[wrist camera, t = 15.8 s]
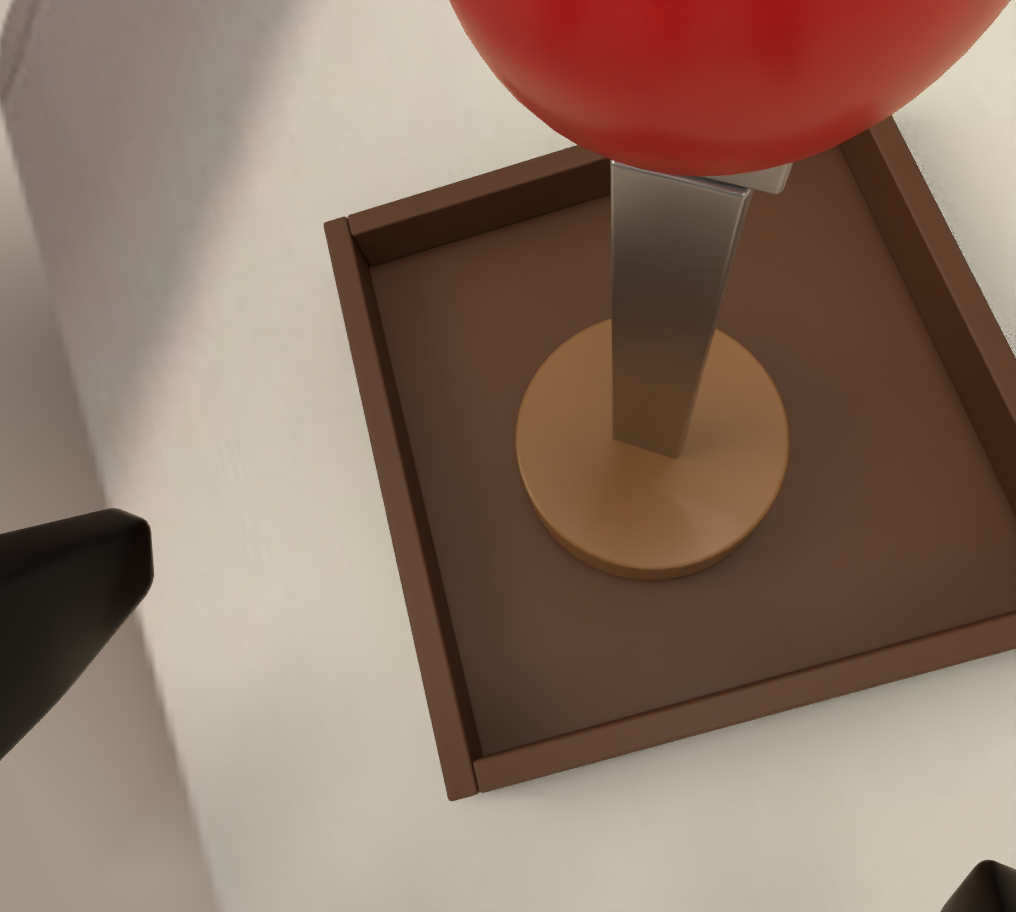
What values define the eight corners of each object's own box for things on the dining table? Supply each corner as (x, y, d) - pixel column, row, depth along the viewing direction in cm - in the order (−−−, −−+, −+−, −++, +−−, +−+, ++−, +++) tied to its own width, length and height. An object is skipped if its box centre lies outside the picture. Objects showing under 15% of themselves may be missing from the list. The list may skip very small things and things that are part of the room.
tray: (466, 790, 17) (448, 802, 15) (348, 265, 21) (321, 222, 19) (1085, 622, 16) (1147, 613, 14) (839, 115, 20) (862, 55, 18)
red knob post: (732, 619, 17) (1655, 17, 2) (486, 530, 18) (-123, -260, 3) (806, 382, 18) (1707, -1091, 3) (572, 314, 19) (427, -980, 4)
